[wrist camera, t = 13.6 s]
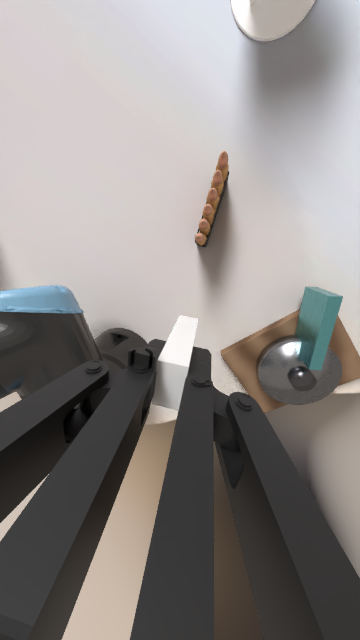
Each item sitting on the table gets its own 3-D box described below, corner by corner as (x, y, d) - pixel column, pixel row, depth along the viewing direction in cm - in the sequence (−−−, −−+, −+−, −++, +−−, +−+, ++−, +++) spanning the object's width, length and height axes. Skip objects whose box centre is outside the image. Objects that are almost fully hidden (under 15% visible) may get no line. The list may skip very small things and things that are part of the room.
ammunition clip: (205, 247, 35) (202, 246, 24) (196, 244, 35) (189, 242, 24) (227, 181, 31) (235, 144, 20) (216, 178, 31) (219, 139, 20)
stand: (260, 406, 46) (263, 414, 44) (220, 350, 42) (221, 356, 40) (361, 368, 39) (370, 375, 37) (323, 296, 35) (330, 299, 33)
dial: (322, 397, 39) (343, 426, 33) (252, 390, 42) (259, 416, 35) (357, 287, 31) (394, 297, 25) (268, 286, 34) (281, 295, 27)
